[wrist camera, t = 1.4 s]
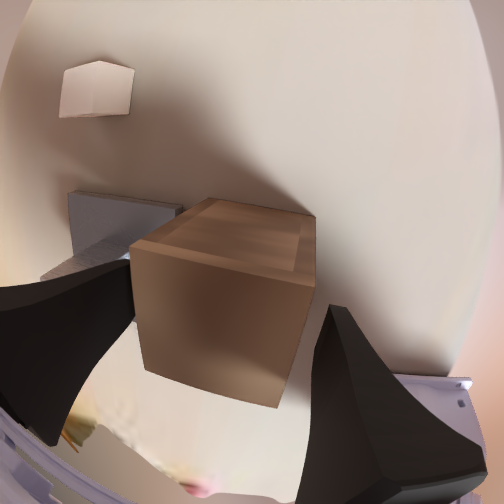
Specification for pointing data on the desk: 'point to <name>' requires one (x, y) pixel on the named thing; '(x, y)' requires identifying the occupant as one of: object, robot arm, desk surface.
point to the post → (108, 228)
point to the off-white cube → (96, 90)
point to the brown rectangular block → (225, 297)
